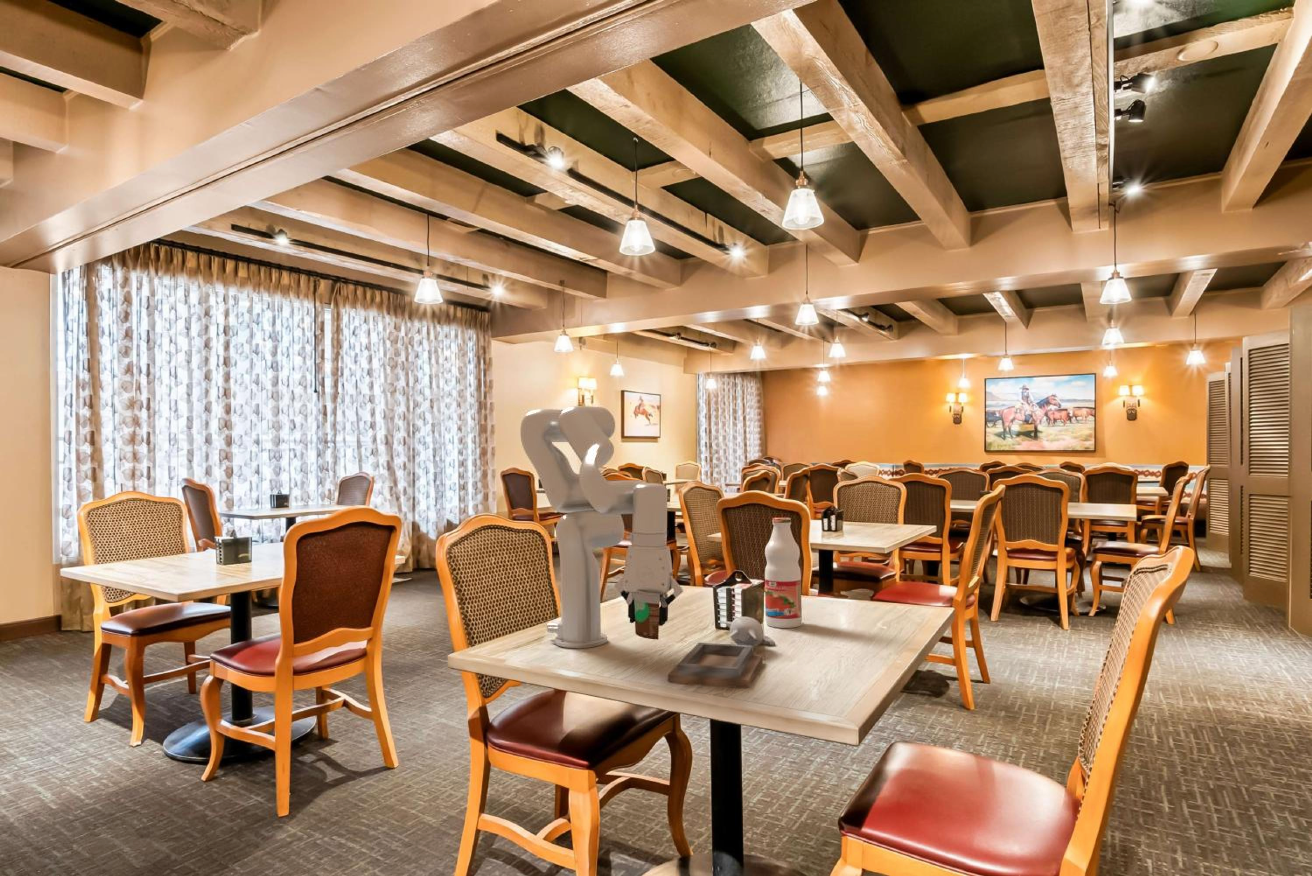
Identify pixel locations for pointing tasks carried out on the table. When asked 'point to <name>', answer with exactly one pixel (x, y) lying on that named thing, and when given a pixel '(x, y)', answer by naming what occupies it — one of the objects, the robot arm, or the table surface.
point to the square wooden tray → (717, 666)
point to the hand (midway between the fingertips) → (647, 622)
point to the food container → (646, 614)
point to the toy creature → (747, 632)
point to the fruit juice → (782, 577)
